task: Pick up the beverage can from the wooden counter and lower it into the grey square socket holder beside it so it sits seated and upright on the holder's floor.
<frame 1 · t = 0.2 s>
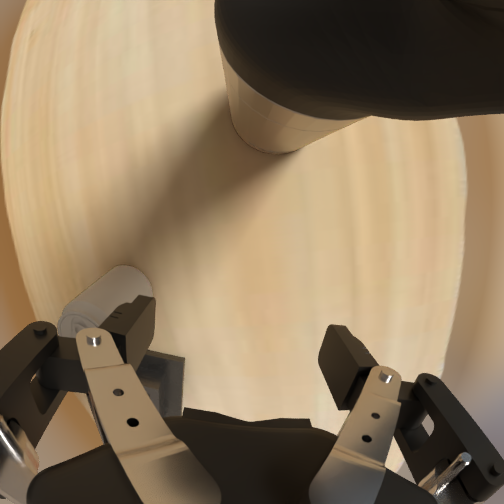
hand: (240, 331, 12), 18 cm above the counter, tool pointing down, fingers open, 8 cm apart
grey square socket holder: (133, 384, 34), on the counter
beverage can: (130, 287, 30), on the counter
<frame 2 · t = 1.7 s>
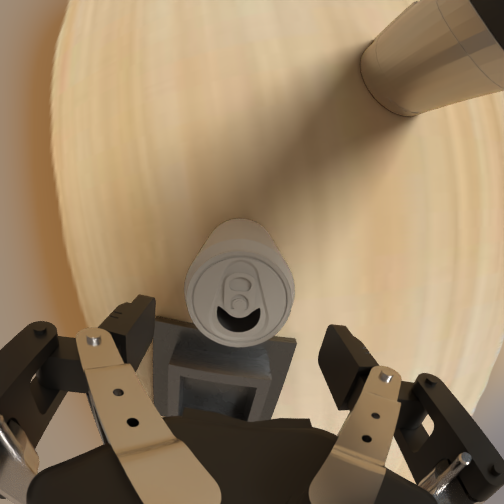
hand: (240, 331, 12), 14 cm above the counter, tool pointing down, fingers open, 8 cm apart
grey square socket holder: (217, 381, 29), on the counter
beverage can: (240, 250, 26), on the counter
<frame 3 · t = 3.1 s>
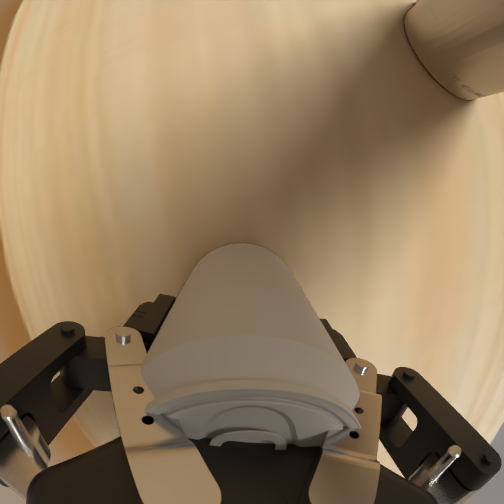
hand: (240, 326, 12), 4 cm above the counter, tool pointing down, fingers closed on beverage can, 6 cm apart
beverage can: (241, 290, 17), on the counter, touching gripper
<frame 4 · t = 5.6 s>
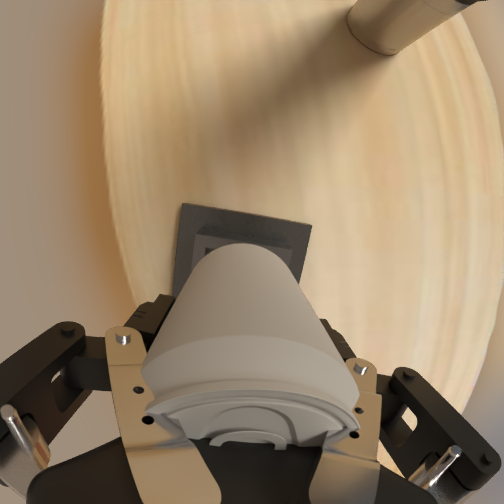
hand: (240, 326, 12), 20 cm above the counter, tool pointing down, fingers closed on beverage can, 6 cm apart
grey square socket holder: (237, 274, 33), on the counter
beverage can: (241, 291, 17), point 16 cm above the counter, touching gripper
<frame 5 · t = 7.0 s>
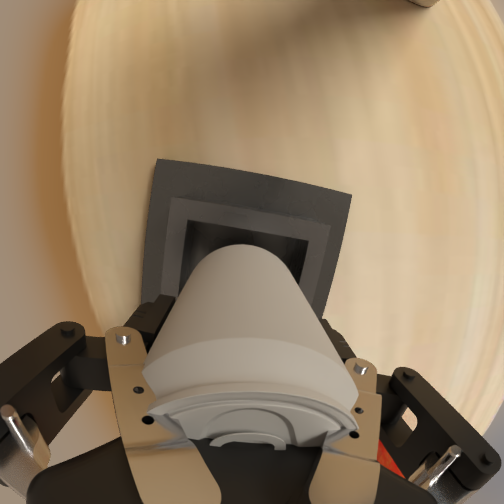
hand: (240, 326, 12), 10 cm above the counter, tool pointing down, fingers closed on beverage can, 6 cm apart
grey square socket holder: (238, 268, 22), on the counter
beverage can: (241, 292, 17), point 5 cm above the counter, touching gripper
apple: (364, 439, 28), on the counter
when the fingers open (7 cm above the counter, at t = 8.2 s): beverage can drops 1 cm, resting on grey square socket holder.
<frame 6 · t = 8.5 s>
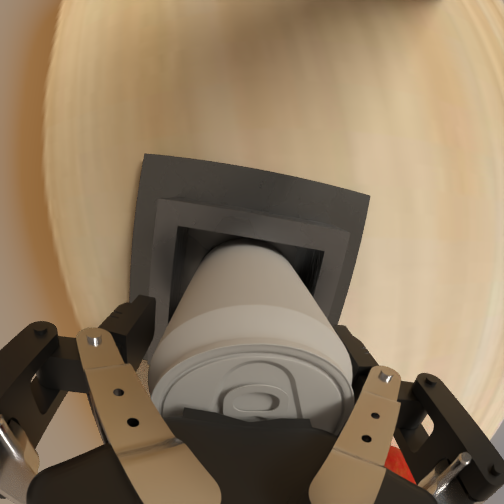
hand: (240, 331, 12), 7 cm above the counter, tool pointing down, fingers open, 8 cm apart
grey square socket holder: (239, 280, 19), on the counter
beverage can: (244, 283, 18), point 1 cm above the counter, touching grey square socket holder
apple: (372, 454, 25), on the counter
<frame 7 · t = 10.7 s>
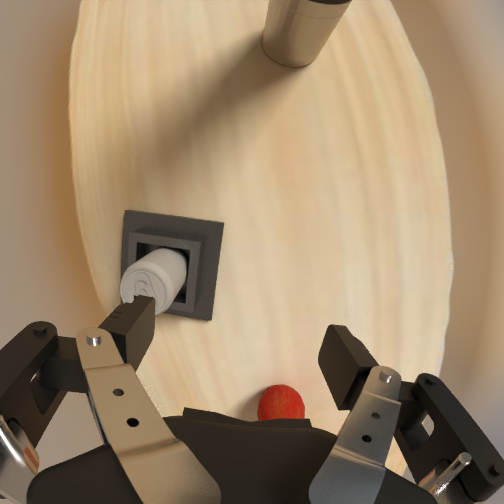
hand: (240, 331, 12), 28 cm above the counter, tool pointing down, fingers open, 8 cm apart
grey square socket holder: (168, 265, 40), on the counter
beverage can: (169, 265, 39), point 1 cm above the counter, touching grey square socket holder
apple: (277, 393, 46), on the counter
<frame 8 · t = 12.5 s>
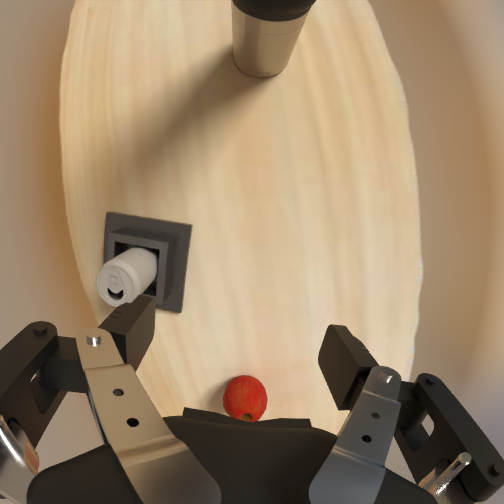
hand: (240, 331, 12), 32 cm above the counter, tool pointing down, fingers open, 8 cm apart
grey square socket holder: (144, 261, 44), on the counter
beverage can: (144, 262, 43), point 1 cm above the counter, touching grey square socket holder
apple: (244, 383, 50), on the counter
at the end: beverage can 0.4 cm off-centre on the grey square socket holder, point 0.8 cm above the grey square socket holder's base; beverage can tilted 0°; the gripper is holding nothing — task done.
